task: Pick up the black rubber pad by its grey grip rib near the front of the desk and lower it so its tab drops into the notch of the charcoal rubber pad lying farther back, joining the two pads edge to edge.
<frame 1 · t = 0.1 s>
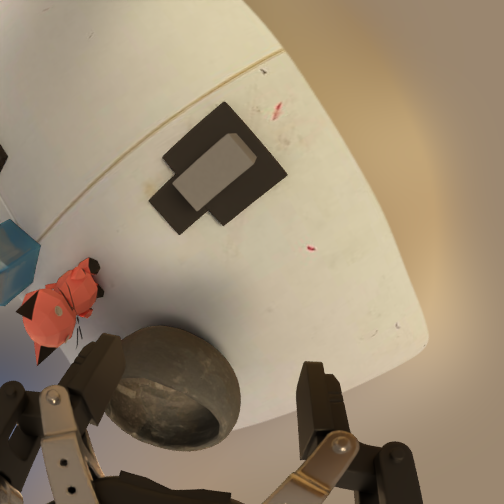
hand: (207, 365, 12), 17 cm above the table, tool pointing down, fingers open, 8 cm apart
cat figurine: (88, 276, 30), on the table
perfume bottle: (21, 250, 30), on the table
bowl: (182, 355, 34), on the table
tab pad: (225, 163, 25), on the table
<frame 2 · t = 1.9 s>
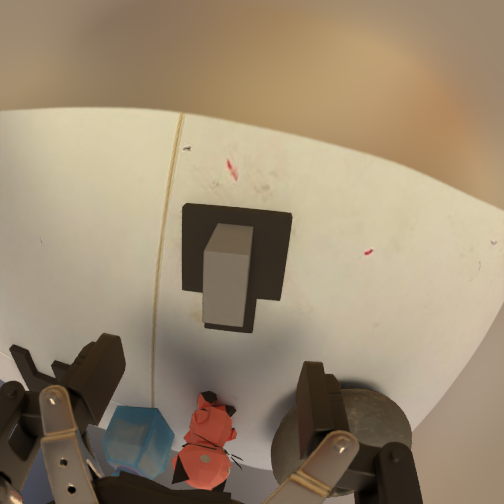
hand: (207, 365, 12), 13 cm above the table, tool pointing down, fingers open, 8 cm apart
notch pad: (53, 384, 33), on the table
cat figurine: (212, 405, 32), on the table
perfume bottle: (146, 420, 34), on the table
bowl: (334, 405, 31), on the table
tab pad: (234, 250, 24), on the table
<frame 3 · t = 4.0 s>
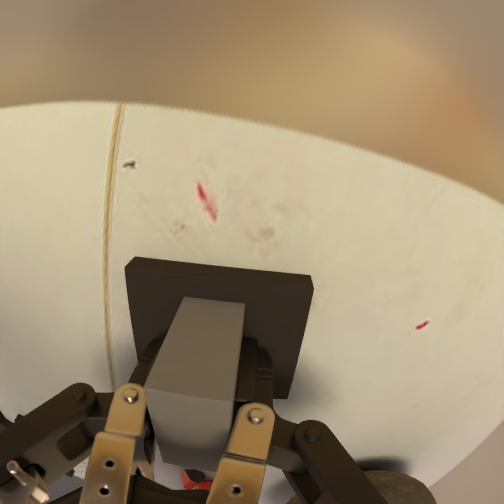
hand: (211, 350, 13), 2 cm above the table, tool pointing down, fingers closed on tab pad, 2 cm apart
notch pad: (24, 433, 24), on the table
cat figurine: (200, 479, 22), on the table
bowl: (348, 479, 22), on the table
tab pad: (216, 329, 14), on the table, touching gripper
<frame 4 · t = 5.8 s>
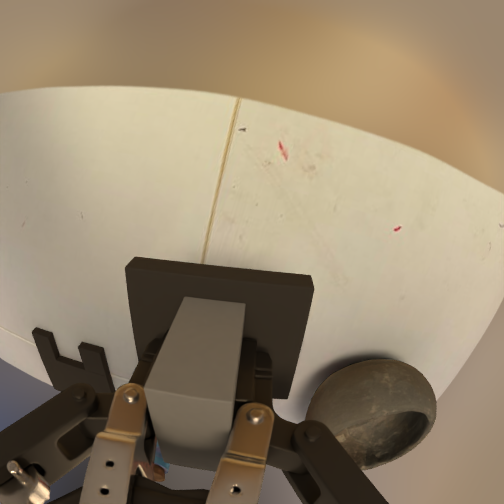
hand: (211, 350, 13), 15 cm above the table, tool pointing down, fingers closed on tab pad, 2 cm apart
notch pad: (76, 368, 35), on the table
perfume bottle: (173, 402, 36), on the table
bowl: (360, 380, 33), on the table
tab pad: (217, 329, 14), point 13 cm above the table, touching gripper
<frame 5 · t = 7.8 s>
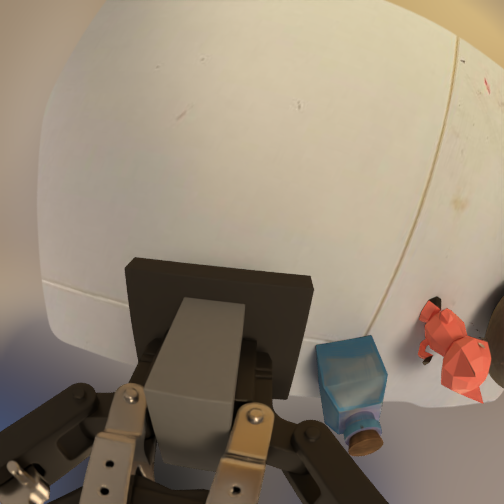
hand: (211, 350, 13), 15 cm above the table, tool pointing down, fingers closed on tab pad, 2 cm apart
cat figurine: (430, 316, 29), on the table
perfume bottle: (343, 359, 32), on the table
tab pad: (216, 330, 14), point 13 cm above the table, touching gripper
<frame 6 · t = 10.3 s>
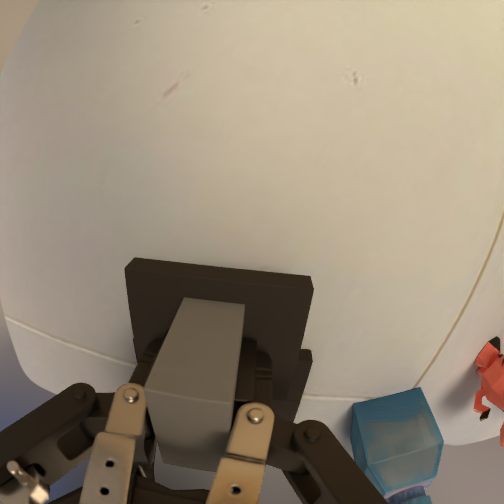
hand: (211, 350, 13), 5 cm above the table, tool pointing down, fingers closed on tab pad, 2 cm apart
notch pad: (220, 397, 22), on the table
cat figurine: (485, 358, 20), on the table
perfume bottle: (383, 414, 23), on the table
tab pad: (216, 330, 14), point 4 cm above the table, touching gripper
when the fingers open (2 cm above the table, at t = 11.7 s): tab pad stays where it is, on the table.
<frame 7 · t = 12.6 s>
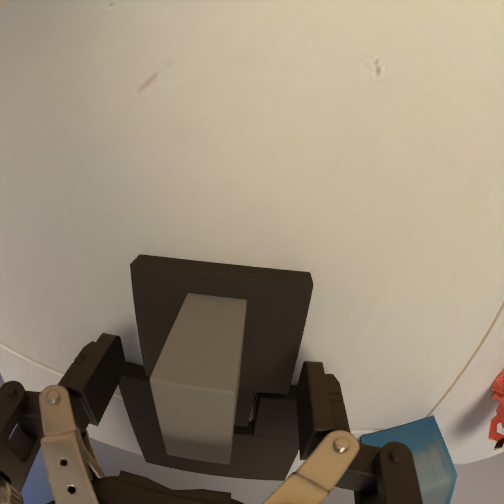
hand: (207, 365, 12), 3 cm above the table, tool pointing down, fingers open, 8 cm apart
notch pad: (215, 431, 19), on the table
cat figurine: (501, 382, 17), on the table
perfume bottle: (392, 442, 20), on the table
tab pad: (219, 325, 15), on the table
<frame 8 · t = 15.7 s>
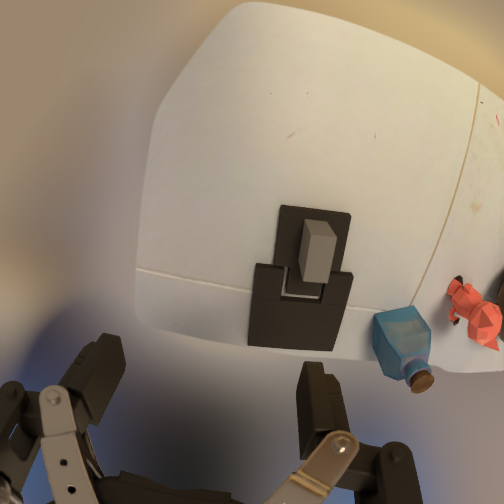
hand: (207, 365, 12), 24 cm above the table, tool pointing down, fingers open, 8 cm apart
notch pad: (297, 309, 39), on the table
cat figurine: (454, 291, 37), on the table
perfume bottle: (392, 326, 40), on the table
tab pad: (311, 237, 35), on the table
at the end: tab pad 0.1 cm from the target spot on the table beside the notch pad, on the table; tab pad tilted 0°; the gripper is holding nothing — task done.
